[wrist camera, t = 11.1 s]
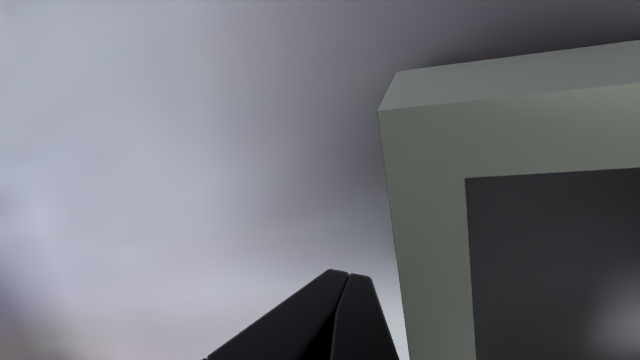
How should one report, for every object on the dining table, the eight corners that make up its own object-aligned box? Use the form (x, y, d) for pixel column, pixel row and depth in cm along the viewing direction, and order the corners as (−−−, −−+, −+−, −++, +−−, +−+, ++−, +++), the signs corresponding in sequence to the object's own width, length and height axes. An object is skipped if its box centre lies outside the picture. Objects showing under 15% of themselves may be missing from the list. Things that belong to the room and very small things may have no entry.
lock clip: (396, 71, 8) (377, 111, 6) (837, 14, 6) (1041, 40, 4) (433, 401, 11) (429, 511, 9) (746, 423, 9) (840, 566, 7)
